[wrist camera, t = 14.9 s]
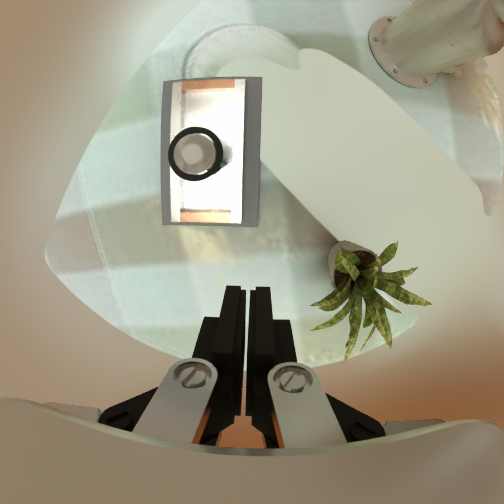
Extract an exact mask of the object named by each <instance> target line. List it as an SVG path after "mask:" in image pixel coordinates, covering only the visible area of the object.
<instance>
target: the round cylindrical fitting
mask: <svg viewBox="0 0 504 504" xmlns="http://www.w3.org/2000/svg"><path fill="white" fill-rule="evenodd" d="M201 134H205V135H207V136H208V137H210V138H211V139H212V141H213V142H214V143H212V142H211V141H210V140H209V139H208V138H207V137H206V136H204V135H201ZM168 160H169V164H170V166H171V168H172V170H173V171H174V173H175V174H176V175H177V176H179V177H180V178H182V179H184V180H187V181H193V182H195V181H202V180H205V179H207V178H209V177H211V176H212V175H214V174H215V173H217V172H218V171H219V170H220V169H222V168H223V167H224V166H226V165H227V164H226V162H225V161H224V160H223V147H222V143H221V141H220V139H219V138H218V136H217V135H216V134H215V133H214V132H212V131H211V130H209V129H207V128H204V127H189V128H186V129H184V130H182V131H181V132H179V133H178V134H177V135H176V136H175V137H174V138H173V140H172V142H171V144H170V146H169V150H168ZM206 170H207V172H205V173H203V174H199V173H202V172H204V171H206Z"/></svg>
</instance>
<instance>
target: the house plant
mask: <svg viewBox="0 0 504 504" xmlns="http://www.w3.org/2000/svg"><path fill="white" fill-rule="evenodd" d="M397 244H398V242H397V243H393V244H391V245H389V246H388V247H387V248H386V249H385V250H384V251H383V252H382V254H381V255H380V256H379V257H378V256H377V255H376V254H375V253H374V252H372V251H371V250H369V249H366V248H364V247H362V246H359V245H357V244H354V243H352V242H349V241H340V242H338V243H336V244H335V245H334V246H332V248H331V249H330V250H329V253H328V257H327V261H328V267H329V272H330V277H331V282H332V285H333V288H334V291H333V292H332V293H331V294H329V295H328V296H326V297H325V298H324V299H323V300H321V301H319V302H316V303H314V304H312V305H310V306H322V307H320V308H319V309H322V310H324V311H333V310H335V309H337V308H338V307H339V306H340V305H342V304H343V303H344V302H345V301H346V300H347V298H348V299H349V300H348V302H347V303H346V305H345V306H344V307H343V309H342V310H341V311H339V312H338V313H337V314H336V315H335V316H333V317H332V318H331V319H330V320H329V321H327V322H326V323H324V324H321V325H319V326H317V327H315V328H314V329H312V330H318V329H324V328H327V327H330V326H333V325H334V324H336V323H338V322H339V321H341V320H342V319H343V318H344V317H345V316H346V315H347V314H348V313H349V311H350V315H349V322H350V326H351V327H350V328H351V329H350V334H349V340H348V342H347V344H346V347H347V346H348V349H347V351H346V354H345V360H346V359H347V358H348V356H349V355H350V353H351V351H352V349H353V347H354V345H355V342H356V339H357V336H358V332H359V328H360V324H361V318H362V297H363V298H364V301H365V304H366V313H365V319H364V323H363V328H365V327H367V326H370V325H371V324H372V323H374V326H373V328H372V330H371V332H370V334H369V336H368V338H367V339H366V341H365V343H364V345H365V344H366V342H367V341H368V339H369V338H370V337H371V335H372V334H373V332H374V330H375V328H376V327H377V329H378V330H379V332H380V333H381V335H382V336H383V337H384V338H385V341H386V343H387V344H388V345H389V346H390V348H391V345H392V335H391V330H390V325H389V322H388V319H387V316H386V311H385V308H388V309H390V310H392V311H394V312H398V313H401V312H400V311H399V310H397V309H396V308H395V307H394V306H392V305H391V304H390V303H389V302H387V301H386V300H385V299H384V298H383V297H382V296H380V295H379V294H378V293H377V292H376V290H375V289H374V288H377V289H379V290H382V291H384V292H386V293H387V294H389V295H390V296H392V297H394V298H395V299H397V300H399V301H401V302H403V303H405V304H411V305H414V304H417V305H422V306H426V305H431V303H430V302H428V301H426V300H424V299H423V298H421V297H418V296H417V295H415V294H413V293H410V292H408V291H407V290H405V289H403V288H402V287H400V286H401V285H403V284H405V281H404V279H403V278H404V277H406V276H408V275H410V274H412V273H413V272H414V271H415V270H416V269H417V268H411V269H409V270H401V271H397V272H393V273H385V272H382V266H383V265H384V264H386V263H387V262H389V261H390V260H391V259H392V258H393V257H394V256H395V254H396V250H397ZM337 294H338V295H337ZM336 295H337V296H336ZM384 307H385V308H384ZM317 308H318V307H317ZM350 308H351V310H350ZM401 314H402V313H401ZM364 345H363V347H364ZM363 347H362V348H363ZM361 350H362V349H361ZM345 360H344V361H345Z"/></svg>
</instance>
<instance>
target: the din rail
mask: <svg viewBox="0 0 504 504" xmlns="http://www.w3.org/2000/svg"><path fill="white" fill-rule="evenodd" d="M245 92H246V82H245V79H216V80H197V81H184V82H174V83H173V87H172V104H171V129H170V144H171V142H172V140H173V138H174V137H175V136H176V135H177V134H178V133H179V132H181V131H182V130H184V129H186V128H189V127H204V128H207V129H209V130H211V131H212V132H214V133H215V134H216V135H217V136H218V138H219V139H220V141H221V143H222V147H223V160H224V161H225V162H226V164H227V165H226V166H224V167H223V168H222V169H220V170H219V171H218V172H217V173H215V174H214V175H212V176H211V177H209V178H207V179H205V180H202V181H195V182H193V181H187V180H184V179H182V178H180V177H179V176H177V175H176V174H175V173H174V171H173V170H172V168H171V166H170V195H171V222H217V223H241V221H242V198H243V157H244V123H245ZM201 135H204V136H206V137H207V138H208V139H209V140H210V141H211V142H212V143H214V142H213V141H212V139H211V138H210V137H208V136H207V135H205V134H201ZM205 172H207V170H206V171H204V172H202V173H199V174H203V173H205Z"/></svg>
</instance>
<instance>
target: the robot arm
mask: <svg viewBox="0 0 504 504" xmlns="http://www.w3.org/2000/svg"><path fill="white" fill-rule="evenodd" d="M369 43H370V47H371V50H372V53H373V55H374V57H375V58H376V60H377V62H378V63H379V64H380V66H381V67H382V68H383V69H384V70H385V71H386V72H387V73H388V74H389V75H390V76H391V77H392V78H394V79H395V80H397V81H398V82H400V83H402V84H404V85H407V86H409V87H414V88H422V87H426V86H428V85H431V84H432V83H433V82H435V80H436V79H437V77H438V75H439V73H440V72H443V73H447V72H448V73H450V74H452V75H454V76H456V77H458V78H461V77H462V76H463V70H462V69H461V68H460V67H458V66H456V65H458V64H461V63H464V62H468V61H471V60H474V59H478V58H481V57H485V56H489V55H492V54H495V53H497V52H498V51H500V50H501V48H502V47H503V46H504V0H417V1H416V2H415V3H414V4H412V5H411V6H410V7H409V8H407V9H406V10H405V11H404V12H403V13H401V14H400V15H399V16H398V17H384V18H381V19H379V20H378V21H376V22H375V23H374V24H373V25H372V27H371V29H370V33H369ZM393 72H394V73H393ZM245 315H246V290H241V286H226V290H225V294H224V299H223V303H222V308H221V312H220V317H204V319H203V322H202V326H201V329H200V332H199V335H198V339H197V342H196V345H195V349H194V352H193V355H192V358H188V359H184V360H181V361H178V362H177V363H175V364H174V365H173V366H172V367H171V368H170V369H169V371H168V372H167V374H166V376H165V377H164V379H163V381H162V382H161V384H160V386H159V387H156V388H154V389H152V390H150V391H147V392H145V393H143V394H141V395H138V396H136V397H134V398H131V399H129V400H126V401H124V402H122V403H119V404H117V405H114V406H112V407H110V408H108V409H106V410H105V411H100V409H99V408H94V407H84V406H74V405H67V404H61V403H55V402H48V403H45V404H41V403H37V402H34V401H30V400H25V399H19V398H6V397H5V398H0V504H504V430H503V429H502V428H501V427H500V426H499V425H497V424H496V423H493V422H491V421H486V420H457V421H449V422H445V421H443V420H441V419H427V420H406V421H386V423H385V424H380V423H379V422H378V421H377V420H375V419H373V418H371V417H370V416H368V415H366V414H364V413H361V412H360V411H358V410H356V409H354V408H352V407H350V406H349V405H346V404H345V403H343V402H341V401H339V400H337V399H336V398H334V397H332V396H330V395H328V394H327V393H325V392H324V390H323V387H322V385H321V383H320V381H319V378H318V376H317V374H316V373H315V372H314V371H313V370H312V369H311V368H310V367H309V366H306V365H304V364H301V363H297V358H296V352H295V346H294V340H293V335H292V329H291V323H290V320H274V319H273V315H272V304H271V292H270V287H256V290H250V308H249V327H248V346H247V378H246V416H252V425H253V426H254V427H255V428H257V429H258V430H259V431H260V432H262V441H263V446H264V449H252V448H251V449H250V448H231V447H219V444H220V441H221V438H222V430H224V429H225V428H227V427H228V426H230V425H231V424H234V417H235V415H237V416H240V415H241V401H242V385H243V369H244V354H245Z"/></svg>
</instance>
